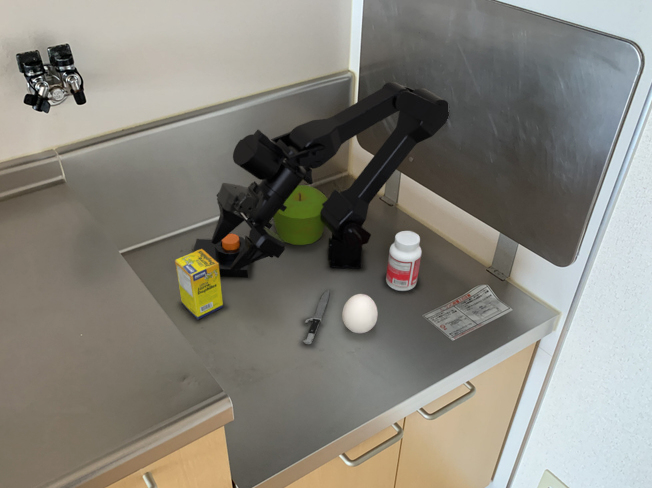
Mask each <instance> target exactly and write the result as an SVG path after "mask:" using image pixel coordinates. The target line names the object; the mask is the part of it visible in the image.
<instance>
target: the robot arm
mask: <svg viewBox="0 0 652 488" xmlns="http://www.w3.org/2000/svg"><path fill="white" fill-rule="evenodd" d="M448 104H449V103H448V101H446V100H445V99H444V98H443V97H440V96H438V94H435V93H434V92H432V91H430V90H428V89H427V88H425V87H420V88H415V89H414V88H412V87H408V86H406V85H401V84H399V83H398V82H396V81H388V82H386V83H385V84H384V85H383V86H382V88H380V89H378V90H376V91H374V92H373V93H371V94H369V95H368V96H366V97H364V98H362V99H361V100H359V101H357V102H355V103H354V104H352V105H350V106H348V107H347V108H345V109H343V110H341V111H339V112H338V113H336V114H334V115H332V116H330V117H328V118H321V119H313V120H309V121H307V122H304V123H301V124H299V125H297V126H295V127H293V129H291V131H289V132H286V133H283V134H281V135H278V136H275V137H273V138H269V137H268V136H267V135H266V133H264V132H263V131H262V130H260V129H257V130H256V131H255V132H254V133H253V134H248V135H246V136H245V137H243V138H242V139H240V140H239V141H238V142H237V144H236V145H235V147H234V149H233V152H232V160H233V163H234V164H236V166H238V167H240V168H241V169H243V170H244V171H246V172H247V173H249V174H250V175H251V176H253V177H254V178H256V179H258V180H260V182H259V183H258V182H257V181H255V180H254V181H253V182H251V183H250V184H249V185H248V186H243V185H240V184H235V183H229V182H222V183H221V186H220V189H219V191H218V192H217V194H216V195H215V196H216V203H217V205H218V209H219V217H218V220H217V223H216V225H215V228H214V232H213V235H212V238H211V239H212V240H211V242H212V243H213V244H217V243H218V242H220V241H221V240H222V239H224V238H225V237H226V236H227V235H228V234H231V233H232V232H233V231H234V230H236V229H237V228H238V227H239V226H240V225H241V224H242V223H243V222H245V223H246V225H247V226H248V227H249V228H250V230H249V234H248V236H247V235H244V239H245V246H244V248H243V249H242V250H241V252H240V253H239V255H238V256H237V258H236V259H235V260H234V262H233V264H232V265H231V267H230V269H231V270H232V271H237V270H239V269H241V268H243V267H245V266H247V265H249V264H250V265H251V264H254V263H255V262H259V261H260V260H263V259H266V258H270V259H272V258H277V259H279V258H280V257H281V256H282V255H283V253H284V252H285V251H286V242H285V241H283V240H282V239H281V238H280V237H279V236H278V234H277V232H274V231H272V230H270V229H272V227H273V226H274V224H273V223H272V222H271V220H272V219H273V217H274V215H275V214H276V213H277V212H278V210H279V209H280V210H282V211H283V212H284V211H285V209H286V208H287V207H286V206H285V205H284V203H285V202H286V200H287V199H288V198H289V196H290V195H291V194H292V193H293V191H294V190H295V189H296V188H297V186H298V185H300V184H301V183H302V181H304V182H305V183H307V184H308V185H309V186H310V185H312V184H313V183H314V181H313V176H312V175H313V169H317V168H320V167H322V166H323V165H325V164H326V163H327V162H328V161H330V160H331V159H332V158H333V157H335V156H336V155H337V153H338V152H339V150H340V148H341V147H342V145H343V144H345V143H346V142H347V141H349V140H351V139H352V138H354V137H356V136H357V135H359V134H361V133H363V132H364V131H366V130H368V129H370V128H371V127H373V126H375V125H377V124H378V123H380V122H382V121H384V120H385V119H387V118H389V117H391V116H392V115H394V114H396V113H397V112H398V116H397V122H396V126H395V129H394V130H393V131H392V132H391V134H390V135H389V136H388V137H387V139H386V140H385V141H384V142H383V144H382V145H381V146H380V147H379V149H378V150H377V152H376V153H375V154H374V156H373V157H372V158H371V159H370V161H369V162H368V163H367V164H366V165H365V167H364V168H363V170H362V171H361V172H360V174H359V175H358V176H357V177H356V179H354V182H353V183H352V184H351V185H350V186H349V187H348V188H346V189H344V190H342V191H339V190H338V189H334V190H333V191H332V192H331V193H330V195H329V197H327V201H326V202H324V203H323V204H322V205H323V208H322V210H321V212H320V219H321V221H322V223H323V224H324V225H325V226H324V227H325V228H327V229H328V230H329V231H330V232H331V237H330V236H329V238H328V245H327V246H328V247H327V248H328V249H327V261H329V265H330V266H329V267H330V268H331V269H348V270H349V269H351V270H362V267H363V263H362V255H363V247H364V246H363V245H366V244H368V243H369V242H370V239H371V236H372V234H371V233H370V232H369V231H368V230H367V229H366V228H365V227H364V226H363V225H364V224H365V222H366V220H367V216H368V211H369V206H370V204H371V202H372V201H373V199H374V198H375V197H376V196H377V194H378V193H379V192H380V191H381V189H382V188H383V187H384V186H385V185H386V183H387V182H388V181H389V179H390V178H391V177H392V176H393V174H395V172H396V170H397V169H398V168H399V167H400V165H401V164H402V163H403V162H404V160H405V159H406V158H407V156H409V154H410V153H411V151H412V150H413V149H414V148H415V146H416V145H418V144H419V143H421V142H424V141H426V140H427V139H430V138H432V137H433V136H434V135H435V134H437V132H438V131H439V130H440V129H441V128H442V127H444V125H445V124H446V123H447V122H448V120H449V118H448V116H449V114H450V111H449V112H448ZM449 117H450V116H449ZM447 119H448V120H447Z"/></svg>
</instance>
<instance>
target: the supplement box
mask: <svg viewBox="0 0 652 488" xmlns="http://www.w3.org/2000/svg"><path fill="white" fill-rule="evenodd" d="M174 264H175V269H176V276H177V281H178V288H179V294H180V300H181V305H182V306H183V307H184V308H185V309H186V310H187V311H188V312H189V313H190V314H191V315H192V316H193V317H194V318H195V319H196V320H197V321H199V320H200V319H202V318H205V317H207V316H209V315H211V314H212V313H216V311H219V310H221V309H223V308H224V302H223V292H222V284H221V282H222V281H221V277H220V272H219V263H218V262H217V261H215V260H214V259H213V258H212V257H211V256H210V255H209V254H207V253H206V252H205V251H204V250H203V249H200V250H197V251H195V252H193V251H192V252H190V253H189V254H186V255H184V256H181V257H179V258H175V260H174Z"/></svg>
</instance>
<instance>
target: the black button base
mask: <svg viewBox="0 0 652 488" xmlns="http://www.w3.org/2000/svg"><path fill="white" fill-rule="evenodd" d="M237 236H238V237H239V243H240V246H239V248H238V249H235V250H225V249H224V248H223V247H222V240H221V241H220V242H218V243H217V244H213V243H212V242H211V240H212V238H196V240H195V244H194V247H193V250H192V253H193V252H195V251H197V250H200V249H203V250H204V251H205V252H206V253H207V254H209V255H210V256H211V257H212V258H213V259H214V260H215V261H217V262H218V263H219V272H220V278H238V279H239V278H240V279H242V278H244V279H248V278H249V275H250V269H251V264H249V265H247V266H245V267H243V268H241V269H239V270H237V271H232V270H231V269H230V267H231V265H232V264H233V262H234V260H235V259H236V258H237V256H238V255H239V253H240V252H241V250H242V249H243V248H244V246H245V237H242V236H240V235H237Z"/></svg>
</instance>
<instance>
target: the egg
mask: <svg viewBox="0 0 652 488" xmlns="http://www.w3.org/2000/svg"><path fill="white" fill-rule="evenodd" d="M341 315H342V316H341V317H342V322H343V323H344V326H345V327H346V328H347V329H348V330H349V331H350V332H352V333H355V334H365V333H368V332H369V331H371V330H372V329H373V328H374V327H375V326H376V324H377V321H378V315H379V313H378V306H377V304H376V302H375V301H374V300H373V298H371V297H370V296H369V295H367V294H364V293H358V294H354V295H352V296H351V297H349V298H348V299H347V301H346V302H345V303H344V305H343V309H342V313H341Z"/></svg>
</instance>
